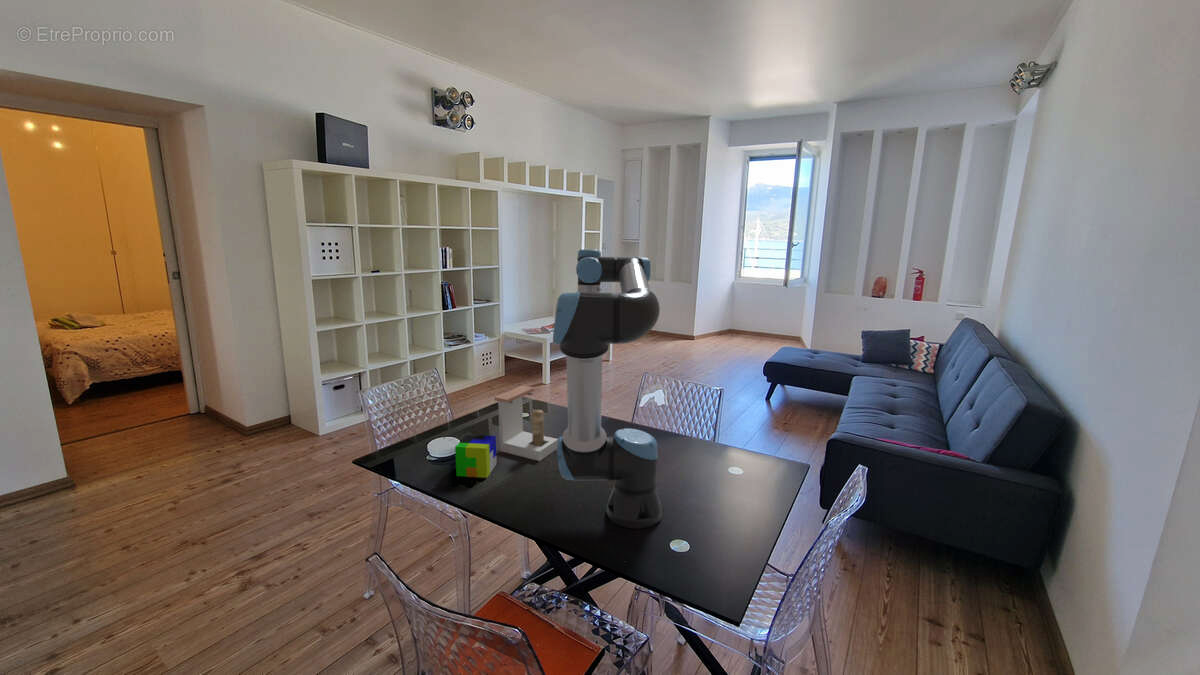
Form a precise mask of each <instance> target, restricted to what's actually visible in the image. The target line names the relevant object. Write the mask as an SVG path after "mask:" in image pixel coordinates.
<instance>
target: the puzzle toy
mask: <svg viewBox="0 0 1200 675" xmlns="http://www.w3.org/2000/svg"><path fill="white" fill-rule="evenodd" d="M454 448H455V449H454V450H455V452H454V454H455V470H456V472H455V473H456V477H465V478H466V477H467V478H481V479H482V478H483V479H487V478H488V477H489V476H490V474H491V472H493V470H494V468H495V467H496V465H497V436H496V435H483V434H482V435H481V434H479V435H478V434H466V435H465V436H464V437H463V438H462V439H461V440H460V441H459V442H458V443H457V444H456V445H455V447H454Z"/></svg>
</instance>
